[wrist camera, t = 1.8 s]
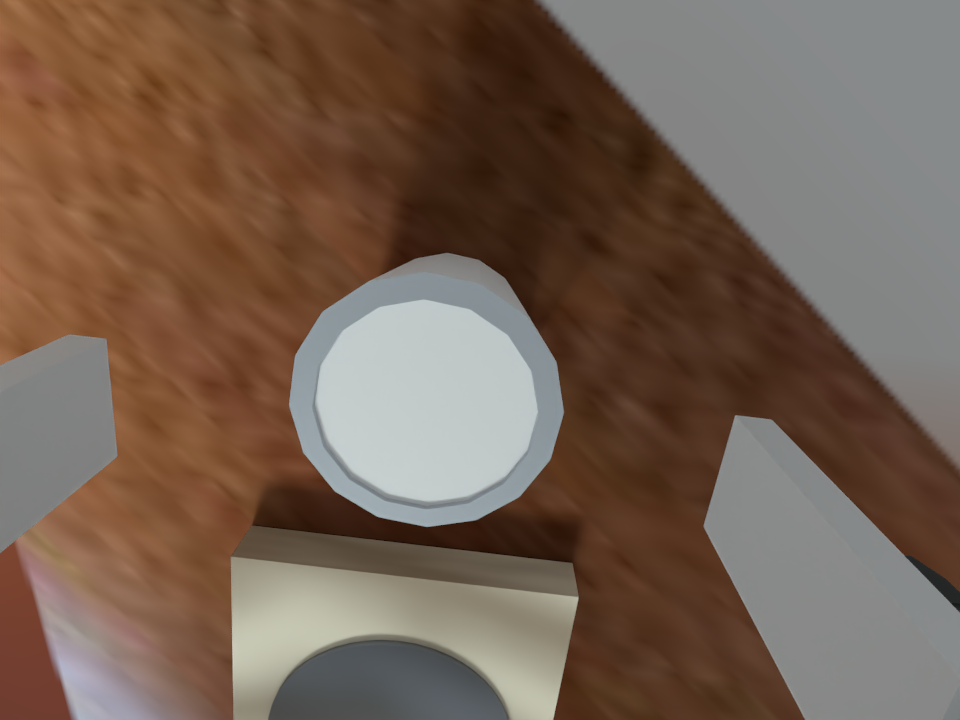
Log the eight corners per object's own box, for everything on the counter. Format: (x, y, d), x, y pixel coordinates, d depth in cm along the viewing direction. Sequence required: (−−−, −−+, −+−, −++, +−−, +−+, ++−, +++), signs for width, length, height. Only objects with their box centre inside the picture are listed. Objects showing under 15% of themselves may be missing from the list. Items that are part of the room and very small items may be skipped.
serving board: (518, 835, 30) (519, 889, 28) (252, 806, 30) (232, 858, 27) (572, 563, 25) (579, 602, 22) (251, 525, 24) (227, 561, 22)
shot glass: (355, 417, 23) (297, 525, 16) (346, 232, 21) (274, 269, 14) (539, 423, 23) (556, 534, 16) (549, 236, 21) (573, 276, 14)
